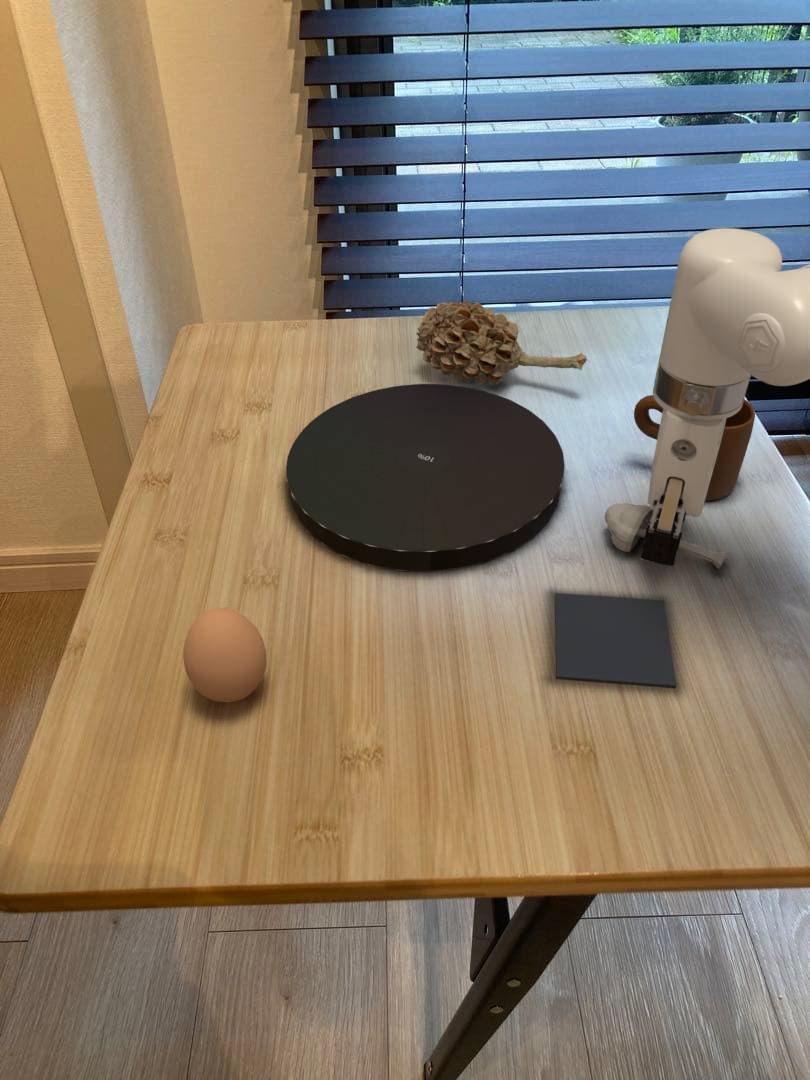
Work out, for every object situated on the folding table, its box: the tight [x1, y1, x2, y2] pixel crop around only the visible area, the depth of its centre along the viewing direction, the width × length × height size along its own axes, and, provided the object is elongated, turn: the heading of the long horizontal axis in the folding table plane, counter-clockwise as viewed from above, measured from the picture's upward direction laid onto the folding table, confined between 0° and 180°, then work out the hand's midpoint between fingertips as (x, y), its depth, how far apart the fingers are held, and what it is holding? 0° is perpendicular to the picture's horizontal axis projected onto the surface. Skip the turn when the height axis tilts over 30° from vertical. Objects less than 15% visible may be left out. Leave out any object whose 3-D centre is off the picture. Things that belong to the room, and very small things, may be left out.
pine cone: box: [415, 300, 591, 386], centre depth 104 cm, size 22×10×10 cm, turn 74°
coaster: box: [554, 592, 677, 688], centre depth 75 cm, size 10×10×1 cm
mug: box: [633, 394, 756, 501], centre depth 90 cm, size 12×8×9 cm, turn 63°
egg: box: [182, 607, 267, 703], centre depth 69 cm, size 7×7×9 cm
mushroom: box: [604, 502, 727, 570], centre depth 83 cm, size 7×5×12 cm
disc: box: [285, 383, 566, 572], centre depth 92 cm, size 30×30×3 cm
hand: (662, 538), depth 84 cm, fingers closed on mushroom, 5 cm apart
